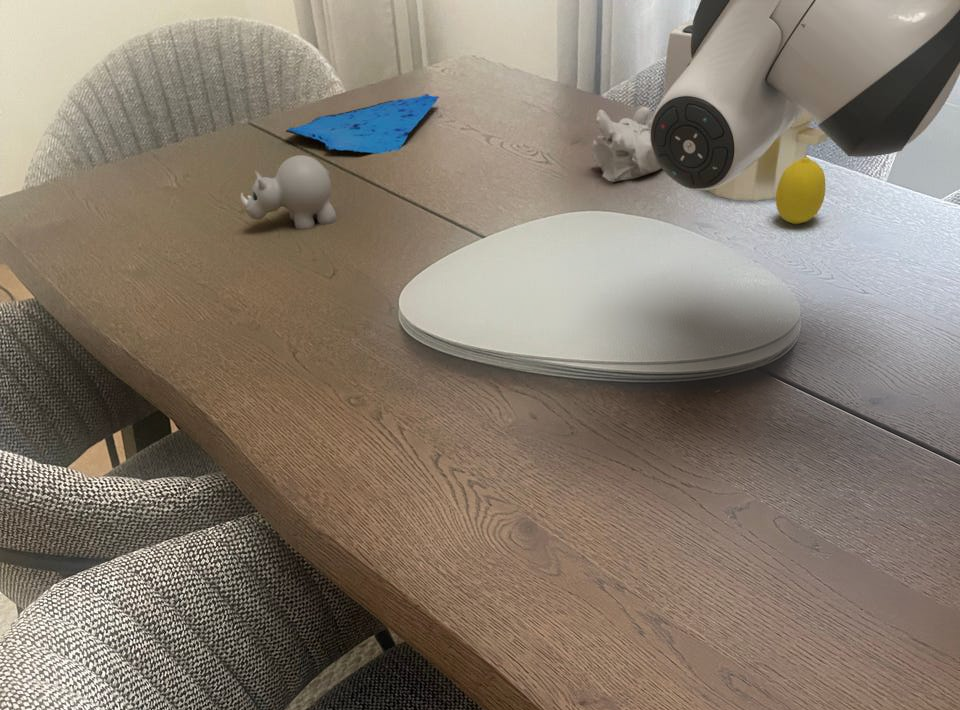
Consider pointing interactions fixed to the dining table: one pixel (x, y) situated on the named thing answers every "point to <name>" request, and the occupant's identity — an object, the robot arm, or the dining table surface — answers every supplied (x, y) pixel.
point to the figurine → (624, 147)
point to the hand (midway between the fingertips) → (813, 31)
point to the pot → (771, 166)
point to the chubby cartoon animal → (294, 193)
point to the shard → (369, 126)
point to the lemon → (800, 191)
